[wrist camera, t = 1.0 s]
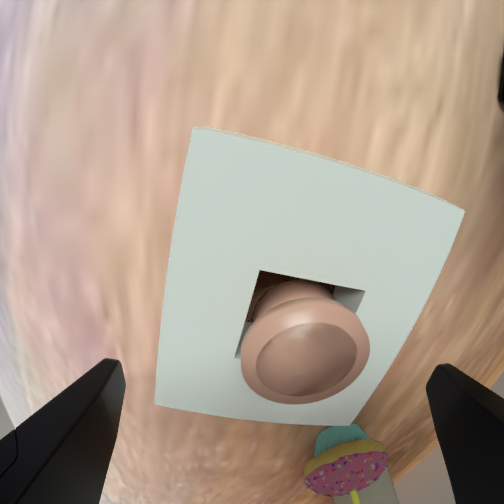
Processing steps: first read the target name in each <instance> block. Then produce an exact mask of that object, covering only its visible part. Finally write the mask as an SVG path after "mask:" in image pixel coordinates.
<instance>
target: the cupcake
mask: <svg viewBox="0 0 504 504" xmlns="http://www.w3.org/2000/svg"><path fill="white" fill-rule="evenodd" d="M387 459H388V454H387V452H386V449H385V448H384V446H383V444H382V443H381V442H378V441H374V440H372V439H371V438H369V437H368V436H367V435H366V434H365V433H364V432H363V430H362V429H361V428H360V426H359V425H357V424H355V423H351V424H350V426H330V427H328V428H326V429H324V430H323V431H321V432H320V433H319V435H318V436H317V438H316V445H315V451H314V455H313V458H311V459H310V460H309V461H308V462H307V463H306V464H305V466H304V469H303V476H304V480H305V482H304V483H305V484H306V488H310V489H311V490H313V491H315V492H316V493H317V494H321V495H325V496H327V495H328V496H343V495H346V494H351V498H352V501H353V504H360V500H359V497H358V494H357V492H358V491H360V490H363V489H365V488H366V487H368V486H369V485H371V484H372V483H375V481H376V480H378V479H379V477H380V476H381V475H382V474H383V472H384V470H385V468H386V467H387V466H388V464H387V462H388V461H389V459H388V460H387Z"/></svg>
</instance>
